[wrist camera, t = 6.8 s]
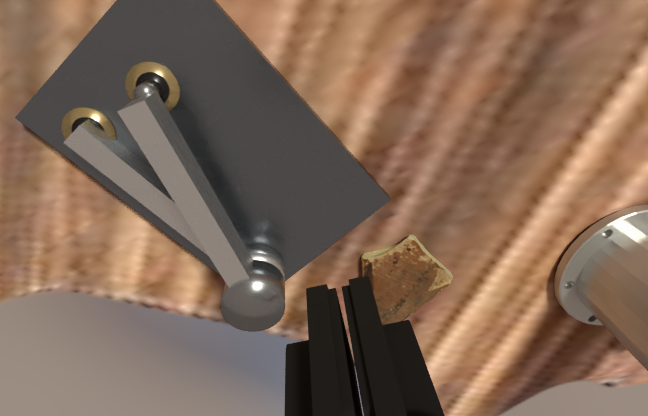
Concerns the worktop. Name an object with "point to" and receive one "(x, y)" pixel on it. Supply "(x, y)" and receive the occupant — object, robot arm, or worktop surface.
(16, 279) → the worktop surface
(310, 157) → the divider base plate
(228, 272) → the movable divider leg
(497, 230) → the worktop surface
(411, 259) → the shard
